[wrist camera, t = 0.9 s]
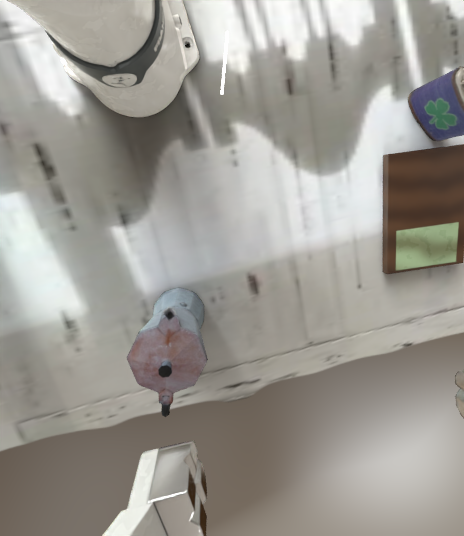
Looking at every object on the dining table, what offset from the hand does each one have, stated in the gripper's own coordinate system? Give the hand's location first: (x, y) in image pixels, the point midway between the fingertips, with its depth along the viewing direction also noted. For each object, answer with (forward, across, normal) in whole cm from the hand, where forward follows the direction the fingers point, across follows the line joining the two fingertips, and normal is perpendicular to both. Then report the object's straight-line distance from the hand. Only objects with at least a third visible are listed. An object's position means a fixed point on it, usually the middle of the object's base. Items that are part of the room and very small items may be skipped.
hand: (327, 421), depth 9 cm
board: (+42, -33, +4) cm, 53 cm away
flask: (+42, -35, -10) cm, 55 cm away
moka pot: (+42, +12, +12) cm, 45 cm away
